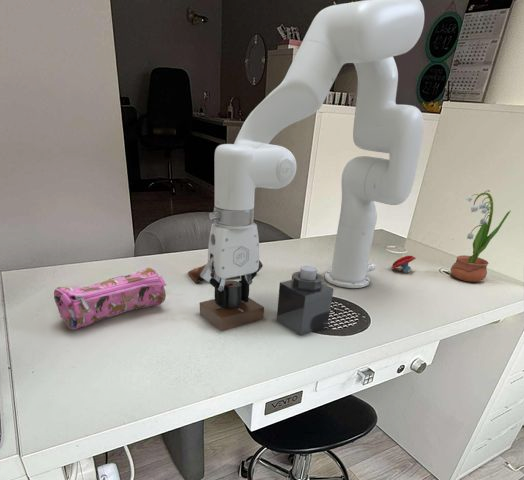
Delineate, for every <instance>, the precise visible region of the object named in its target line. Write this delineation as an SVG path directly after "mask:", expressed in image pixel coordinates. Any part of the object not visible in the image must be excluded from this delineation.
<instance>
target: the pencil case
mask: <svg viewBox="0 0 524 480" xmlns="http://www.w3.org/2000/svg"><path fill="white" fill-rule="evenodd" d="M121 276H122V277H120V276H116V277H112V278H113V279H112V278H109V279H110V280H109V279H106V280H104V281H101V282H98V283H95V284H92V285H89V286H72V287H67V286H66V287H65V286H58V287H56V288H55V289H53V290H54V291H53V299H54V303H55V305H56V307H57V309H58V313H59V316H60V318H61V320H63V321H64V323H65V324H66V325H67V328H68V329H69V330H73V331H75V330H78V329H79V328H81V329H82V328H84V327H87V326H89V325H92V324H94V323H98V322H100V321H101V320H104V319H108V318H111V317H114V316H117V315H120V314H123V313H126V312H129V311H131V310H133V311H134V310H137V309H142V308H146V307H152V306H159V305H162V304H163V303H164V302H166V296H167V295H166V293H167V292H166V289H165V286H167V283H166V281H165V280H164V278H163V277H162V275H160V276H159V274H158V272H157V271H156V269H154V268H152V267H147V268H143V269H141V270H138V271H136V272H135V273H134V274H128V275H121Z"/></svg>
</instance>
